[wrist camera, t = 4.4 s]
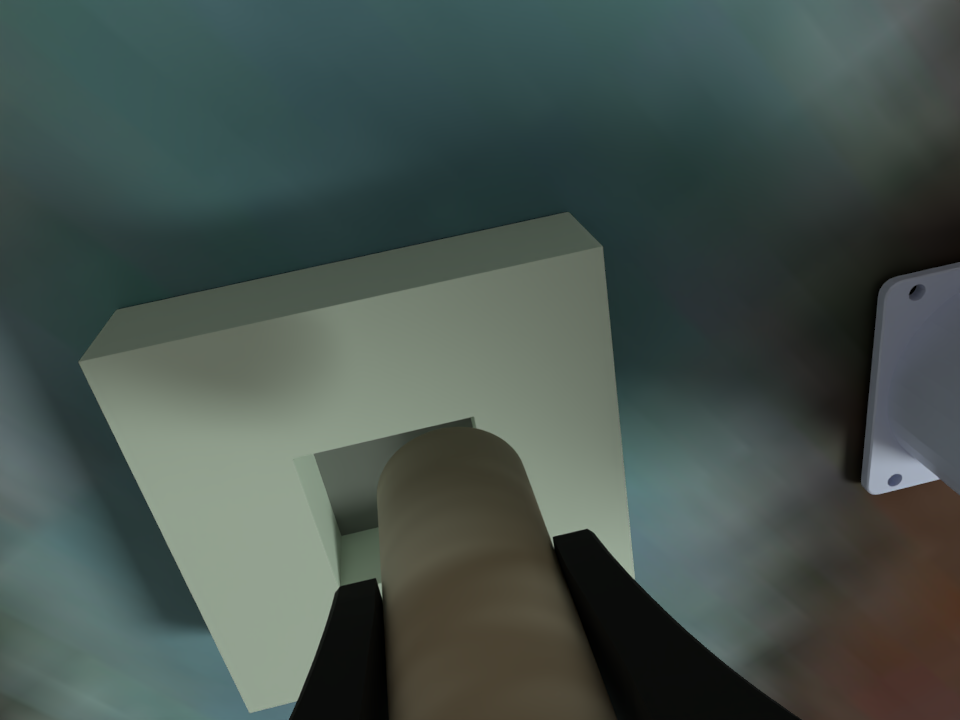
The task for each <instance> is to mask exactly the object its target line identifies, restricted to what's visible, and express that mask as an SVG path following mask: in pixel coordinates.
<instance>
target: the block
mask: <svg viewBox="0 0 960 720" xmlns="http://www.w3.org/2000/svg"><path fill="white" fill-rule="evenodd" d="M79 365H80V367H81V369H82V371H83V373H84V375H85V377H86V379H87V381H88V383H89V385H90V387H91V389H92V391H93V393H94V395H95V397H96V399H97V401H98V403H99V405H100V408H101V410H102V412H103V414H104V416H105V418H106V420H107V422H108V424H109V426H110V428H111V430H112V432H113V434H114V436H115V438H116V440H117V442H118V444H119V446H120V449H121V451H122V453H123V455H124V457H125V459H126V461H127V463H128V465H129V467H130V469H131V471H132V473H133V475H134V477H135V479H136V481H137V483H138V485H139V487H140V489H141V492H142V494H143V496H144V498H145V500H146V502H147V504H148V506H149V508H150V510H151V512H152V514H153V516H154V518H155V520H156V522H157V524H158V526H159V528H160V530H161V532H162V535H163V537H164V539H165V541H166V543H167V545H168V547H169V549H170V551H171V553H172V555H173V557H174V559H175V561H176V563H177V565H178V567H179V569H180V571H181V573H182V576H183V578H184V580H185V582H186V584H187V586H188V588H189V590H190V592H191V594H192V596H193V598H194V600H195V602H196V604H197V606H198V608H199V610H200V612H201V614H202V616H203V619H204V621H205V623H206V625H207V627H208V629H209V631H210V633H211V635H212V637H213V639H214V641H215V643H216V645H217V647H218V649H219V651H220V653H221V655H222V657H223V659H224V662H225V664H226V666H227V668H228V670H229V672H230V674H231V676H232V678H233V680H234V682H235V684H236V686H237V688H238V690H239V692H240V694H241V696H242V698H243V700H244V703H245V705H246V707H247V709H248V711H249V713H252V712H256V711H260V710H264V709H268V708H272V707H276V706H280V705H283V704H287V703H291V702H295V701H297V700H298V698H299V695H300V693H301V690H302V688H303V685H304V683H305V680H306V678H307V675H308V673H309V670H310V667H311V665H312V662H313V660H314V657H315V654H316V651H317V649H318V646H319V643H320V640H321V637H322V634H323V631H324V628H325V625H326V622H327V619H328V616H329V612H330V609H331V606H332V602H333V598H334V594H335V592H336V591H337V589H338V588H339V587H340V586H343V585H347V584H352V583H356V582H360V581H364V580H369V579H373V578H376V580H377V583H378V587H379V590H380V593H381V597H382V584H381V565H380V547H379V528H378V509H377V487H378V482H379V479H380V476H381V473H382V471H383V469H384V467H385V465H386V464H387V462H388V461H389V459H390V458H391V457H392V456H393V455H394V454H395V453H396V451H398V450H399V449H400V448H401V447H402V446H403V445H405V444H406V443H408V442H409V441H411V440H412V439H414V438H416V437H418V436H420V435H422V434H425V433H427V432H430V431H433V430H437V429H441V428H448V427H471V428H476V429H481V430H484V431H487V432H490V433H492V434H494V435H496V436H498V437H500V438H501V439H503V440H504V441H506V442H507V443H508V444H509V445H510V446H511V447H512V448H513V449H514V450H515V451H516V453H517V454H518V455H519V457H520V459H521V461H522V463H523V465H524V468H525V471H526V473H527V476H528V479H529V482H530V484H531V487H532V490H533V492H534V495H535V498H536V501H537V503H538V506H539V509H540V511H541V514H542V517H543V520H544V522H545V525H546V528H547V530H548V533H549V536H550V538H551V541H552V544H553V547H554V543H553V537H554V536H558V535H562V534H567V533H571V532H575V531H579V530H584V529H589V530H590V531H592V532H594V533H595V535H596V536H597V537H598V538H599V540H600V541H601V542H602V543H603V545H604V546H605V547H606V548H607V550H608V551H609V552H610V553H611V554H612V556H613V557H614V558H615V559H616V560H617V561H618V562H619V564H620V565H621V566H622V567H623V568H624V569H625V570H626V571H627V572H628V573H629V574H630V576H631V577H632V578H633V579H634V580H635V575H634V565H633V554H632V544H631V534H630V523H629V513H628V503H627V492H626V482H625V472H624V461H623V451H622V441H621V430H620V420H619V409H618V399H617V389H616V378H615V368H614V358H613V347H612V337H611V327H610V316H609V306H608V296H607V285H606V275H605V264H604V254H603V246H602V245H601V244H600V243H599V242H598V241H597V240H596V239H595V238H594V237H593V236H592V235H591V234H590V233H589V232H588V231H587V230H586V229H585V228H584V227H583V226H582V225H581V224H580V223H579V222H578V221H577V220H576V219H575V218H574V217H573V216H572V215H571V214H570V213H569V212H565V213H561V214H556V215H551V216H547V217H542V218H537V219H533V220H528V221H524V222H519V223H514V224H510V225H505V226H501V227H496V228H491V229H487V230H482V231H477V232H473V233H468V234H464V235H459V236H454V237H450V238H445V239H441V240H436V241H431V242H427V243H422V244H418V245H413V246H408V247H404V248H399V249H394V250H390V251H385V252H381V253H376V254H371V255H367V256H362V257H358V258H353V259H348V260H344V261H339V262H335V263H330V264H325V265H321V266H316V267H311V268H307V269H302V270H298V271H293V272H288V273H284V274H279V275H275V276H270V277H265V278H261V279H256V280H251V281H247V282H242V283H238V284H233V285H228V286H224V287H219V288H215V289H210V290H205V291H201V292H196V293H192V294H187V295H182V296H178V297H173V298H168V299H164V300H159V301H155V302H150V303H145V304H141V305H136V306H132V307H127V308H122V309H118V310H116V311H115V312H114V314H113V315H112V316H111V318H110V319H109V321H108V322H107V323H106V325H105V326H104V327H103V329H102V330H101V332H100V333H99V334H98V336H97V337H96V338H95V340H94V341H93V342H92V344H91V345H90V347H89V348H88V349H87V351H86V352H85V353H84V355H83V356H82V357H81V359H80V360H79Z"/></svg>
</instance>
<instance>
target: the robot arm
mask: <svg viewBox="0 0 960 720" xmlns="http://www.w3.org/2000/svg"><path fill="white" fill-rule="evenodd" d="M916 285H917V286H916ZM914 286H916V289H915V291H914V292H913V293H912V294H911V295H909V293H910V290H911V289H912V288H913V287H914ZM892 475H893V476H892ZM891 476H892V477H891ZM890 477H891V478H890ZM938 479H941V480H942V481H943V482H944V483H945V484H947V485H948V486H949V487H950V488H952V489H953V490H954V491H955V492H956V493H958V494H959V495H960V262H958V263H953V264H949V265H944V266H940V267H936V268H931V269H927V270H923V271H918V272H914V273H909V274H905V275H901V276H896V277H893V278H891V279H889V280H888V281H886V282H885V283H884V284H883V286H882V287H881V289H880V291H879V294H878V302H877V313H876V323H875V334H874V345H873V356H872V367H871V378H870V389H869V399H868V410H867V421H866V432H865V443H864V454H863V464H862V475H861V484H862V486H863V487H864V488H865V489H866V490H867V491H868V492H869V493H870V494H873V495H875V494H882V493H886V492H890V491H894V490H898V489H902V488H906V487H910V486H914V485H918V484H922V483H926V482H930V481H934V480H938ZM553 543H554V550H555V553H556V555H557V558H558V561H559V563H560V566H561V569H562V572H563V574H564V577H565V580H566V582H567V585H568V588H569V590H570V593H571V596H572V599H573V601H574V604H575V606H576V609H577V612H578V614H579V617H580V620H581V623H582V625H583V628H584V631H585V633H586V636H587V639H588V641H589V644H590V647H591V650H592V652H593V655H594V658H595V660H596V663H597V666H598V669H599V671H600V674H601V677H602V679H603V682H604V685H605V688H606V690H607V693H608V696H609V698H610V701H611V704H612V707H613V709H614V712H615V715H616V717H617V720H802V719H800V718H798V717H797V716H795V715H794V714H792V713H791V712H790V711H788V710H787V709H785V708H784V707H783V706H781V705H780V704H778V703H777V702H775V701H774V700H773V699H771V698H770V697H768V696H767V695H766V694H764V693H763V692H761V691H760V690H759V689H757V688H756V687H755V686H753V685H752V684H751V683H749V682H748V681H747V680H745V679H744V678H743V677H741V676H740V675H739V674H738V673H736V672H735V671H734V670H733V669H731V668H730V667H729V666H727V665H726V664H725V663H724V662H723V661H721V660H720V659H719V658H718V657H716V656H715V655H714V654H713V653H712V652H710V651H709V650H708V649H707V648H706V647H705V646H704V645H702V644H701V643H700V642H699V641H698V640H697V639H695V638H694V637H693V636H692V635H691V634H690V633H689V632H687V631H686V630H685V629H684V628H683V627H682V626H681V625H680V624H679V623H678V622H677V621H676V620H674V619H673V618H672V617H671V616H670V615H669V614H668V613H667V612H666V611H665V610H664V609H663V608H662V607H661V606H660V605H659V604H658V603H657V602H656V601H655V600H654V599H653V598H652V597H651V596H650V595H649V594H648V593H647V592H646V591H645V590H644V589H643V588H642V587H641V586H640V585H639V584H638V583H637V582H636V581H635V580H634V579H633V578H632V577H631V576H630V574H629V573H628V572H627V571H626V570H625V569H624V568H623V567H622V566H621V565H620V564H619V562H618V561H617V560H616V559H615V558H614V557H613V556H612V554H611V553H610V552H609V551H608V550H607V548H606V547H605V546H604V545H603V543H602V542H601V541H600V540H599V538H598V537H597V536H596V535H595V533H594V532H592V531H590V530H589V529H584V530H579V531H575V532H571V533H567V534H562V535H558V536H554V537H553ZM289 720H389V715H388V696H387V677H386V659H385V640H384V621H383V603H382V597H381V593H380V590H379V587H378V583H377V580H376V578H373V579H369V580H364V581H360V582H356V583H352V584H347V585H343V586H340V587H339V588H338V589H337V591H336V592H335V594H334V598H333V602H332V606H331V609H330V612H329V616H328V619H327V622H326V625H325V628H324V631H323V634H322V637H321V640H320V643H319V646H318V649H317V651H316V654H315V657H314V660H313V662H312V665H311V667H310V670H309V673H308V675H307V678H306V680H305V683H304V685H303V688H302V690H301V693H300V695H299V698H298V700H297V703H296V705H295V707H294V710H293V712H292V714H291V716H290V718H289Z"/></svg>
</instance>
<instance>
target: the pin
mask: <svg viewBox="0 0 960 720" xmlns="http://www.w3.org/2000/svg"><path fill="white" fill-rule="evenodd" d="M377 509H378V528H379V547H380V565H381V584H382V603H383V621H384V640H385V659H386V677H387V696H388V715H389V720H617V717H616V715H615V712H614V709H613V707H612V704H611V701H610V698H609V696H608V693H607V690H606V688H605V685H604V682H603V679H602V677H601V674H600V671H599V669H598V666H597V663H596V660H595V658H594V655H593V652H592V650H591V647H590V644H589V641H588V639H587V636H586V633H585V631H584V628H583V625H582V623H581V620H580V617H579V614H578V612H577V609H576V606H575V604H574V601H573V599H572V596H571V593H570V590H569V588H568V585H567V582H566V580H565V577H564V574H563V572H562V569H561V566H560V563H559V561H558V558H557V555H556V553H555V550H554V547H553V544H552V541H551V538H550V536H549V533H548V530H547V528H546V525H545V522H544V520H543V517H542V514H541V511H540V509H539V506H538V503H537V501H536V498H535V495H534V492H533V490H532V487H531V484H530V482H529V479H528V476H527V473H526V471H525V468H524V465H523V463H522V461H521V459H520V457H519V455H518V454H517V453H516V451H515V450H514V449H513V448H512V447H511V446H510V445H509V444H508V443H507V442H506V441H504V440H503V439H501V438H500V437H498V436H496V435H494V434H492V433H490V432H487V431H484V430H481V429H476V428H471V427H448V428H441V429H437V430H433V431H430V432H427V433H425V434H422V435H420V436H418V437H416V438H414V439H412V440H411V441H409V442H408V443H406V444H405V445H403V446H402V447H401V448H400V449H399V450H398V451H396V453H395V454H394V455H393V456H392V457H391V458H390V459H389V461H388V462H387V464H386V465H385V467H384V469H383V471H382V473H381V476H380V479H379V482H378V487H377Z"/></svg>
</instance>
